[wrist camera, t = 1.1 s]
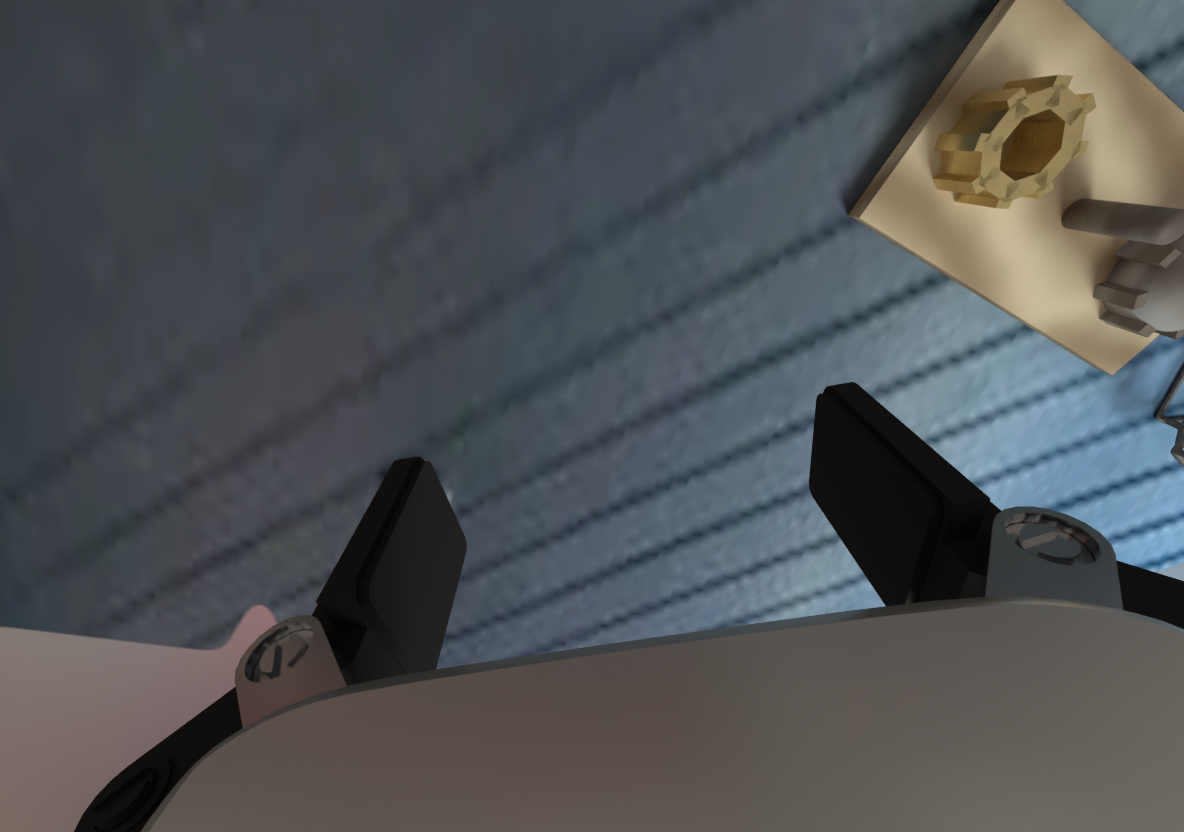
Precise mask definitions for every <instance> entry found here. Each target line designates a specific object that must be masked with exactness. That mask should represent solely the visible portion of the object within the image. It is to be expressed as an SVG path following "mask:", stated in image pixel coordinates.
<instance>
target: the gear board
mask: <svg viewBox="0 0 1184 832" xmlns="http://www.w3.org/2000/svg"><path fill="white" fill-rule="evenodd" d="M1052 75H1068V76H1073V78H1072V80H1071V82H1070V84H1069V86H1068V88H1069V89H1070V90H1071V91H1072V92H1073V93H1075V94H1076V95H1077V94H1087V93H1093V95H1094V99H1095V103H1096V108H1095V109H1094V110H1092V111H1091V112H1089V113H1088V114H1087V115H1086V119H1085V125H1084V130H1083V135H1082V141H1090V142H1089V144H1088V146H1087V147H1086V149H1085V151H1084V153H1083V155H1082V157H1081V159H1071V160H1070V161H1069V163H1068V164H1067V165H1066V166H1065V167H1064V168H1063V169H1062V170H1061V172H1060V173H1059V174H1058V175H1057V176H1056V177H1055V178H1054V180H1053V181H1052V182H1053V185H1054V189H1052V190H1051V191H1050V192H1048V193H1047V194H1045V195H1044V196H1042V197H1041V198H1039V199H1036V198H1028V197H1020V198H1017V199H1014V200H1013V201H1012V203H1011V205H1010V208H1009V209H1000V208H991V207H985V206H978V205H972V204H966V203H959V202H955V201H956V199H957V196H958V194H959V193H957V192H951V191H944V190H937V188H936V186H935V183H934V181H933V178H934V177H935V176H937V175H938V174H939V173H940V167H941V151H937V150H934V148H935V146H936V143H937V140H938V138H939V135H940V134H949V132H950V131H951V130H952V128H953V127H954V125H955V124H956V123H957V121H958V120H959V119H960V117H961V116H962V115H963V113H964V110H963V107H962V104H963V103H964V102H966V101H967V100H968V99H969V98H971V97H972V96H973V95H974V94H976V93H981V92H990V91H998V90H1003V88H1004V86H1005V84H1006V82H1009V81H1016V80H1023V79H1031V78H1038V77H1045V76H1052ZM1013 137H1014V130H1013V132H1012V133H1011V134H1010V135H1009V137H1008V138H1007V139H1006V140H1005V141H1004V143H1003V144H1002V152H1001V161H1002V160H1003V158H1004V157H1005V156H1006V155H1007V153H1008V152H1009V151H1010V150H1011V149H1012V145H1013ZM1001 161H1000V162H1001ZM848 215H849V216H851V217H852V218H854V219H856V220H857V221H859V222H860V223H862V224H864V225H865V226H867V227H868V228H870V229H872V230H873V231H875V232H877V233H878V234H880V235H881V236H883V237H885V238H886V239H888V240H889V241H891V242H893V243H894V244H896V245H897V246H899V247H901V248H902V249H904V250H906V251H907V252H909V253H910V254H912V255H914V256H915V257H917V258H918V259H920V260H922V261H923V262H925V263H927V264H928V265H930V266H931V267H933V268H935V269H936V270H938V271H939V272H941V273H943V274H944V275H946V276H948V277H949V278H951V279H952V280H954V281H956V282H957V283H959V284H960V285H962V286H964V287H965V288H967V289H969V290H970V291H972V292H973V293H975V294H977V295H978V296H980V297H981V298H983V299H985V300H986V301H988V302H990V303H991V304H993V305H994V306H996V307H998V308H999V309H1001V310H1002V311H1004V312H1006V313H1007V314H1009V315H1011V316H1012V317H1014V318H1015V319H1017V320H1019V321H1020V322H1022V323H1023V324H1025V325H1027V326H1028V327H1030V328H1032V329H1033V330H1035V331H1036V332H1038V333H1040V334H1041V335H1043V336H1044V337H1046V338H1048V339H1049V340H1051V341H1053V342H1054V343H1056V344H1057V345H1059V346H1061V347H1062V348H1064V349H1065V350H1067V351H1069V352H1070V353H1072V354H1073V355H1075V356H1077V357H1078V358H1080V359H1082V360H1083V361H1085V362H1086V363H1088V364H1090V365H1091V366H1093V367H1094V368H1096V369H1099V370H1101V371H1103V372H1106V373H1108V374H1110V375H1113V374H1114V373H1116V372H1117V371H1118V370H1119V369H1120V368H1121V367H1123V366H1124V365H1125V364H1126V363H1127V362H1128V361H1130V360H1131V359H1132V358H1133V357H1134V356H1135V355H1137V354H1138V353H1139V352H1140V351H1141V350H1142V349H1144V348H1145V347H1146V346H1147V345H1148V344H1149V343H1150V342H1152V341H1153V340H1154V339H1155V338H1156V337H1157V336H1159V335H1160V334H1161V335H1164V336H1167V337H1170V338H1173V339H1177V338H1180V337H1184V112H1183V111H1182V110H1181V109H1180V108H1179V107H1177V106H1176V105H1175V104H1174V103H1173V102H1172V101H1171V100H1170V99H1169V98H1168V97H1167V96H1166V95H1164V94H1163V93H1162V92H1161V91H1160V90H1159V89H1158V88H1157V87H1156V86H1155V85H1154V84H1153V83H1151V82H1150V81H1149V80H1148V79H1147V78H1146V77H1145V76H1144V75H1143V74H1142V73H1141V72H1140V71H1138V70H1137V69H1136V68H1135V67H1134V66H1133V65H1132V64H1131V63H1130V62H1129V61H1128V60H1126V59H1125V58H1124V57H1123V56H1122V55H1121V54H1120V53H1119V52H1118V51H1117V50H1116V49H1115V48H1113V47H1112V46H1111V45H1110V44H1109V43H1108V42H1107V41H1106V40H1105V39H1104V38H1103V37H1102V36H1100V35H1099V34H1098V33H1097V32H1096V31H1095V30H1094V29H1093V28H1092V27H1091V26H1090V25H1089V24H1087V23H1086V22H1085V21H1084V20H1083V19H1082V18H1081V17H1080V16H1079V15H1078V14H1077V13H1076V12H1074V11H1073V10H1072V9H1071V8H1070V7H1069V6H1068V5H1067V4H1066V3H1065V2H1064V1H1062V0H999V2H998V3H997V5H996V6H995V7H994V9H993V10H992V12H991V13H990V15H989V16H988V17H987V19H986V20H985V22H984V23H983V24H982V26H981V27H980V29H979V30H978V32H977V33H976V34H975V36H974V37H973V39H972V40H971V41H970V43H969V44H968V46H967V47H966V49H965V50H964V51H963V53H962V54H961V56H960V57H959V58H958V60H957V61H956V63H955V64H954V66H953V67H952V68H951V70H950V71H949V73H948V74H947V76H946V77H945V78H944V80H943V81H942V83H941V84H940V85H939V87H938V88H937V90H936V91H935V93H934V94H933V95H932V97H931V98H930V100H929V101H928V102H927V104H926V105H925V107H924V108H923V110H922V111H921V112H920V114H919V115H918V117H917V118H916V119H915V121H914V122H913V124H912V125H911V127H910V128H909V129H908V131H907V132H906V134H905V135H904V136H903V138H902V139H901V141H900V142H899V144H898V145H897V146H896V148H895V149H894V151H893V152H892V153H891V155H890V156H889V158H888V159H887V161H886V162H885V163H884V165H883V166H882V168H881V169H880V170H879V172H878V173H877V175H876V176H875V178H874V179H873V180H872V182H871V183H870V185H869V186H868V188H867V189H866V190H865V192H864V193H863V195H862V196H861V197H860V199H859V200H858V202H857V203H856V205H855V206H854V207H853V209H852V210H851V212H850V213H849V214H848Z"/></svg>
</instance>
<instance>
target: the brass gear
mask: <svg viewBox="0 0 1184 832" xmlns="http://www.w3.org/2000/svg"><path fill="white" fill-rule="evenodd" d="M1072 78H1073V76H1068V75H1052V76H1045V77H1038V78H1031V79H1023V80H1016V81H1009V82H1006V84H1005V86H1004V88H1003V90H998V91H990V92H981V93H976V94H974V95H973V96H972V97H971V98H969V99H968V100H967V101H966V102H964V103H963V104H962V107H963V110H964V113H963V115H962V116H961V117H960V119H959V120H958V121H957V123H956V124H955V125H954V127H953V128H952V130H951V131H950V132H949V134H940V135H939V138H938V140H937V143H936V146H935V148H934V150H937V151H941V167H940V173H939V174H938V175H937V176H935V177H934V178H933V181H934V183H935V186H936V188H937V190H944V191H951V192H957V193H959V194H958V196H957V199H956V201H955V202H959V203H966V204H972V205H978V206H985V207H991V208H1000V209H1009V208H1010V205H1011V203H1012V201H1013V200H1014V199H1017V198H1020V197H1028V198H1036V199H1039V198H1041V197H1042V196H1044V195H1045V194H1047V193H1048V192H1050V191H1051V190H1052V189H1054V185H1053V182H1052V181H1053V180H1054V178H1055V177H1056V176H1057V175H1058V174H1059V173H1060V172H1061V170H1062V169H1063V168H1064V167H1065V166H1066V165H1067V164H1068V163H1069V161H1070V160H1071V159H1081V157H1082V155H1083V153H1084V151H1085V149H1086V147H1087V146H1088V144H1089V142H1090V141H1082V135H1083V130H1084V125H1085V119H1086V115H1087V114H1088V113H1089V112H1091V111H1092V110H1094V109H1095V108H1096V103H1095V99H1094V95H1093V93H1087V94H1077V95H1076V94H1075V93H1073V92H1072V91H1071V90H1070V89H1069V88H1068V86H1069V84H1070V82H1071V80H1072ZM1013 130H1014V137H1013V145H1012V149H1011V150H1010V151H1009V152H1008V153H1007V155H1006V156H1005V157H1004V158H1003V160H1002V161H1001V152H1002V144H1003V143H1004V141H1005V140H1006V139H1007V138H1008V137H1009V135H1010V134H1011V133H1012V132H1013ZM1000 161H1001V162H1000Z"/></svg>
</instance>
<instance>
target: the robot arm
mask: <svg viewBox="0 0 1184 832" xmlns="http://www.w3.org/2000/svg"><path fill="white" fill-rule="evenodd" d="M809 487H810V491H811V494H812V496H813V498H814V500H815V501H816V503H817V504H818V506H819V507H820V509H821V510H822V512H823V513H824V515H825V516H826V518H827V519H828V520H829V522H830V523H831V525H832V526H833V528H834V529H835V531H836V532H837V534H838V535H839V537H840V538H841V540H842V541H843V543H844V544H845V546H846V547H847V549H848V550H849V552H850V553H851V555H852V556H853V558H854V559H855V561H856V562H857V564H858V565H859V567H860V568H861V570H862V571H863V573H864V574H865V576H866V577H867V579H868V580H869V582H870V583H871V585H872V586H873V588H874V589H875V591H876V592H877V593H878V595H879V596H880V598H881V599H882V601H883V602H884V604H885V605H886V607H878V608H869V609H861V610H852V611H845V612H837V613H830V614H823V615H815V616H808V617H801V618H793V619H786V620H778V621H771V622H764V623H756V624H749V625H741V626H734V627H727V628H719V629H712V630H705V631H698V632H691V633H684V634H677V635H670V636H662V637H655V638H648V639H641V640H634V641H627V642H620V643H613V644H606V645H599V646H592V647H585V648H578V649H571V650H564V651H557V652H550V653H543V654H537V655H530V656H523V657H516V658H509V659H503V660H496V661H489V662H482V663H475V664H468V665H462V666H455V667H449V668H443V669H437V670H436V667H437V663H438V659H439V655H440V651H441V647H442V643H443V640H444V636H445V632H446V628H447V624H448V620H449V616H450V613H451V609H452V605H453V601H454V597H455V593H456V589H457V585H458V582H459V578H460V574H461V570H462V566H463V562H464V558H465V555H466V550H467V545H466V539H465V536H464V534H463V531H462V529H461V527H460V525H459V523H458V521H457V518H456V516H455V514H454V512H453V510H452V507H451V505H450V503H449V501H448V499H447V497H446V494H445V492H444V490H443V488H442V486H441V483H440V481H439V479H438V477H437V475H436V472H435V470H434V468H433V466H432V464H431V463H430V462H429V461H424V460H423V459H422V458H421V457H412V458H406V459H400V460H396V461H394V463H393V464H392V466H391V467H390V469H389V471H388V473H387V475H386V476H385V478H384V480H383V482H382V484H381V485H380V487H379V489H378V491H377V493H376V494H375V496H374V498H373V500H372V502H371V503H370V505H369V507H368V509H367V511H366V512H365V514H364V516H363V518H362V520H361V521H360V523H359V525H358V527H357V529H356V530H355V532H354V534H353V536H352V538H351V539H350V541H349V543H348V545H347V547H346V548H345V550H344V552H343V554H342V556H341V557H340V559H339V561H338V563H337V565H336V566H335V568H334V570H333V572H332V574H331V575H330V577H329V579H328V581H327V583H326V584H325V586H324V588H323V590H322V592H321V593H320V595H319V597H318V599H317V600H316V603H317V604H318V605H317V607H316V609H315V611H314V613H313V614H312V616H310V615H298V616H294V617H291V618H288V619H285V620H283V621H282V622H280V623H278V624H276V625H274V626H272V627H271V628H270V629H269V630H267V631H266V632H265V633H263V634H262V635H260V636H259V637H258V638H257V639H256V640H255V642H253V643H252V645H251V646H249V648H248V649H247V651H246V652H245V653H244V655H243V656H242V658H241V659H240V661H239V664H238V666H237V668H236V671H235V685H236V687H235V688H233V689H232V690H231V691H229V692H228V693H226V694H225V695H224V696H222V697H221V698H220V699H218V700H217V701H216V702H214V703H213V704H212V705H210V706H209V707H208V708H206V709H205V710H203V711H202V712H201V713H199V714H198V715H197V716H195V717H194V718H193V719H192V720H190V721H189V722H187V723H186V724H185V725H183V726H182V727H180V728H179V729H178V730H177V731H175V732H174V733H172V734H171V735H170V736H168V737H167V738H166V739H164V740H163V741H162V742H160V743H159V744H157V745H156V746H155V747H153V748H152V749H151V750H149V751H148V752H147V753H145V754H144V755H143V756H141V757H140V758H139V759H137V760H136V761H135V762H133V763H132V764H131V765H129V766H128V767H127V768H125V769H124V770H123V771H122V772H121V773H119V774H118V775H117V776H116V777H115V778H113V779H112V780H111V781H110V782H109V783H108V784H107V786H106V787H105V788H104V789H103V790H102V791H101V792H100V793H99V794H98V795H97V796H96V797H95V799H94V800H93V801H92V803H91V804H90V805H89V807H88V808H87V809H86V811H85V812H84V814H83V815H82V817H81V819H80V821H79V823H78V825H77V827H76V829H75V831H74V832H1184V581H1181V580H1178V579H1175V578H1171V577H1168V576H1165V575H1162V574H1158V573H1155V572H1152V571H1149V570H1145V569H1142V568H1139V567H1136V566H1132V565H1129V564H1126V563H1123V562H1119V561H1116V555H1115V552H1114V550H1113V548H1112V545H1111V544H1110V543H1109V541H1108V540H1107V539H1106V538H1105V537H1104V536H1103V535H1102V534H1101V533H1100V532H1098V531H1097V530H1095V529H1094V528H1092V527H1091V526H1089V525H1088V524H1086V523H1084V522H1082V521H1080V520H1078V519H1076V518H1074V517H1071V516H1069V515H1066V514H1063V513H1060V512H1057V511H1054V510H1050V509H1044V508H1038V507H1013V508H1008V509H1004V510H1003V511H1001V510H1000V509H998V508H997V507H996V506H995V505H994V504H993V503H991V502H990V498H989V497H988V496H987V495H986V494H984V493H983V492H982V491H981V490H980V489H979V488H977V487H976V486H975V485H974V484H973V483H972V482H970V481H969V480H968V479H967V478H966V477H965V476H963V475H962V474H961V473H960V472H959V471H958V470H957V469H955V468H954V467H953V466H952V465H951V464H950V463H948V462H947V461H946V460H945V459H944V458H943V457H941V456H940V455H939V454H938V453H937V452H936V451H934V450H933V449H932V448H931V447H930V446H929V445H927V444H926V443H925V442H924V441H923V440H922V439H920V438H919V437H918V436H917V435H916V434H915V433H913V432H912V431H911V430H910V429H909V428H908V427H907V426H905V425H904V424H903V423H902V422H901V421H900V420H898V419H897V418H896V417H895V416H894V415H893V414H891V413H890V412H889V411H888V410H887V409H886V408H884V407H883V406H882V405H881V404H880V403H879V402H877V401H876V400H875V399H874V398H873V397H872V396H870V395H869V394H868V393H867V392H866V391H865V390H863V389H862V388H861V387H860V386H859V385H858V384H856V383H854V382H850V383H844V384H838V385H832V386H827V387H826V388H825V390H824V392H823V393H822V394H819V395H818V396H817V400H816V410H815V421H814V432H813V443H812V454H811V465H810V477H809Z"/></svg>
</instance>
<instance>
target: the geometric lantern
mask: <svg viewBox="0 0 1184 832" xmlns="http://www.w3.org/2000/svg"><path fill="white" fill-rule="evenodd" d="M1183 380H1184V368H1183V370H1182V372H1181V373H1180V375H1179V377H1178V379H1177V380H1176V382H1175V384H1174V385H1173V387H1172V389H1171V390H1170V392H1169V394H1168V396H1167V397H1166V399H1165V401H1164V402H1163V404H1162V406H1161V407H1160V409H1159V411H1158V413H1157V414H1156V416H1155V419H1157V420H1159V421H1160V422H1162V423H1164V424H1168V425H1170V426H1172V427H1174V428H1176V429H1178V432H1177V437H1176V441H1175V445H1174V447H1173V448H1172V449H1171V454H1172V455H1173V457H1174V458H1175V459H1176V460H1177V461H1178V462H1179V463H1180V464H1181V465H1182V466H1183V467H1184V451H1183V450H1182V449H1183V448H1184V417H1183V418H1176V419H1171V418H1168V417H1165V416H1162V415H1163V414H1164V412H1165V410H1166V409H1167V407H1168V405H1169V404H1170V402H1171V400H1172V399H1173V397H1174V395H1175V393H1176V392H1177V390H1178V388H1179V387H1180V385H1181V383H1182V382H1183ZM1181 422H1182V423H1181Z"/></svg>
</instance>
